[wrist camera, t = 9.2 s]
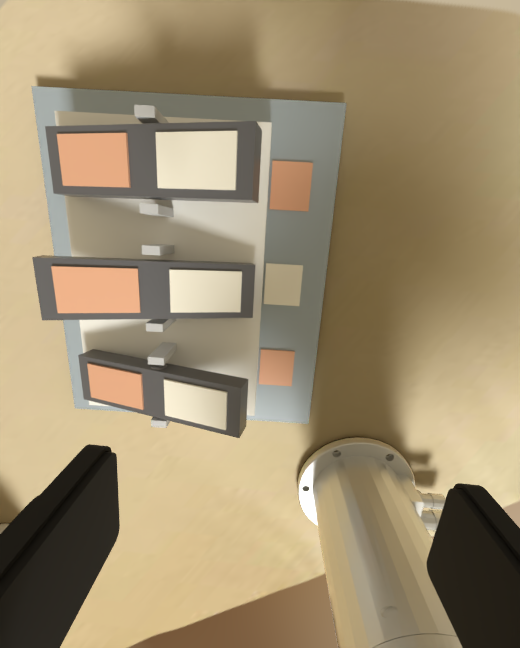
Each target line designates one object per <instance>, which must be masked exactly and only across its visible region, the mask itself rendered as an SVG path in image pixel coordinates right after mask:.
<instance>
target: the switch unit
mask: <svg viewBox="0 0 520 648" xmlns="http://www.w3.org/2000/svg"><path fill="white" fill-rule="evenodd" d="M32 93H33V100H34V108H35V115H36V123H37V130H38V137H39V145H40V152H41V160H42V167H43V174H44V182H45V189H46V197H47V204H48V212H49V219H50V226H51V234H52V241H53V249H54V256H73V257H100V258H128V259H156V260H183V261H211V262H239V263H252V264H254V265H255V283H254V303H253V318H205V319H110V320H63V323H64V330H65V337H66V345H67V352H68V360H69V367H70V374H71V382H72V389H73V397H74V404H75V408H78V409H93V410H108V411H123V412H133V411H129V410H125V409H121V408H117V407H113V406H109V405H105V404H101V403H97V402H93V401H89V400H85V399H84V398H83V390H82V382H81V374H80V366H79V358H78V355H80V354H82V353H85V352H87V351H90V350H92V349H95V350H101V351H106V352H111V353H116V354H121V355H127V356H132V357H137V358H142V359H147V360H148V364H149V365H165V364H166V363H168V364H173V365H179V366H184V367H189V368H194V369H199V370H205V371H210V372H215V373H220V374H225V375H230V376H236V377H241V378H246V379H248V398H247V418H246V420H259V421H274V422H289V423H304V424H309V415H310V407H311V398H312V390H313V381H314V373H315V365H316V356H317V348H318V339H319V331H320V322H321V314H322V306H323V297H324V289H325V280H326V272H327V263H328V255H329V247H330V238H331V230H332V221H333V213H334V204H335V196H336V188H337V179H338V171H339V162H340V154H341V145H342V137H343V129H344V120H345V112H346V103H337V102H318V101H300V100H281V99H262V98H244V97H225V96H206V95H188V94H169V93H150V92H132V91H113V90H94V89H76V88H57V87H38V86H32ZM232 121H256V122H257V123H258V125H259V126H260V128H261V130H262V143H261V162H260V182H259V201H258V203H240V202H211V201H183V200H154V199H125V198H96V197H71V196H65V195H59V194H54V193H53V185H52V177H51V169H50V162H49V154H48V146H47V138H46V130H45V126H74V125H114V124H153V123H192V122H232ZM169 422H170V421H169V420H165V419H161V418H157V417H153V418H152V420H151V427H161V428H167V426H168V424H169Z"/></svg>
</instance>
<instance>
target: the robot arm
mask: <svg viewBox="0 0 520 648" xmlns="http://www.w3.org/2000/svg"><path fill="white" fill-rule="evenodd" d="M298 496H299V501H300V504H301V507H302V509H303V511H304V512H305V514H306V515H307V516H308V518H309V519H311V520H312V521H313V522H314V523H315V524H316V525H318V531H319V537H320V543H321V549H322V555H323V561H324V567H325V573H326V579H327V585H328V591H329V597H330V603H331V609H332V615H333V620H334V626H335V633H336V638H337V644H338V648H520V528H519V527H518V526H517V525H516V524H515V523H514V521H513V520H512V519H511V518H510V517H509V516H508V515H507V513H506V512H505V511H504V510H503V509H502V508H501V506H500V505H499V504H498V503H497V502H496V501H495V500H494V498H493V497H492V496H491V495H490V494H489V493H488V492H487V490H486V489H484V488H483V487H482V486H479V485H470V484H456V485H455V486H454V488H453V489H450V490H449V491H448V494H447V497H446V500H445V498H444V496H443V495H442V494H432V493H428V494H422V493H421V492H420V491H418V490H416V489H415V479H414V475H413V472H412V470H411V468H410V466H409V464H408V463H407V461H406V460H405V458H404V457H403V456H402V455H401V454H400V453H399V452H398V451H397V450H396V449H394V448H393V447H391V446H390V445H388V444H386V443H384V442H381V441H379V440H374V439H370V438H359V437H356V438H345V439H342V440H338V441H334V442H332V443H330V444H327V445H325V446H323V447H322V448H320V449H319V450H317V451H316V452H315V453H314V454H313V455H312V456H310V457H309V458H308V460H307V461H306V462H305V464H304V465H303V467H302V469H301V472H300V474H299V478H298ZM423 507H428V508H432V509H443V510H428V511H426V510H422V509H423ZM427 530H432V531H434V532H435V536H434V539H433V540H432V538H431V536H430V534H429V533H428V531H427ZM118 533H119V503H118V479H117V457H116V454H115V453H112V452H111V448H110V447H108V446H99V445H87V446H85V447H84V448H83V449H82V450H81V451H80V452H79V454H78V455H77V456H76V457H75V458H74V459H73V460H72V461H71V462H70V463H69V464H68V465H67V466H66V468H65V469H64V470H63V471H62V472H61V473H60V474H59V475H58V476H57V477H56V478H55V479H54V480H53V482H52V483H51V484H50V485H49V486H48V487H47V488H46V489H45V490H44V491H43V492H42V493H41V494H40V495H39V496H37V497H36V498H34V499H33V500H32V501H31V502H30V503H29V504H28V505H27V506H26V507H25V508H24V509H23V510H22V511H21V513H20V514H19V515H18V516H17V517H16V518H15V519H14V520H13V521H12V522H11V523H10V524H9V525H8V526H7V527H6V528H5V530H4V531H3V532H2V533H1V534H0V648H60V646H61V644H62V642H63V640H64V638H65V637H66V635H67V633H68V631H69V629H70V627H71V625H72V623H73V621H74V620H75V618H76V616H77V614H78V612H79V610H80V608H81V606H82V604H83V602H84V601H85V599H86V597H87V595H88V593H89V591H90V589H91V587H92V585H93V584H94V582H95V580H96V578H97V576H98V574H99V572H100V570H101V568H102V567H103V565H104V563H105V561H106V559H107V557H108V555H109V553H110V551H111V549H112V548H113V546H114V544H115V542H116V539H117V537H118Z"/></svg>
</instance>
